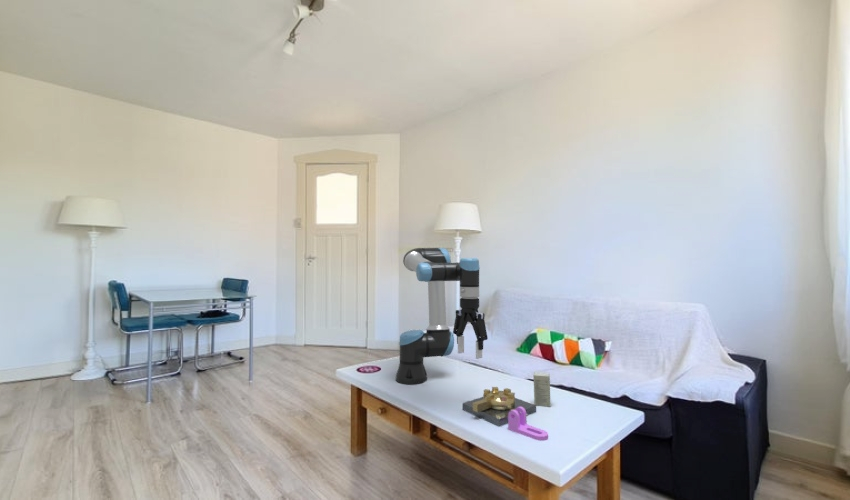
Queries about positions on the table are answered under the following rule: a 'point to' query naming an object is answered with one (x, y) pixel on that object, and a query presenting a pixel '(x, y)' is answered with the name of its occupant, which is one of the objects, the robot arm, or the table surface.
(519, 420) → the bracket
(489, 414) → the base plate
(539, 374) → the skincare box
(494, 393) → the brass notched disc handle
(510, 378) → the table surface
